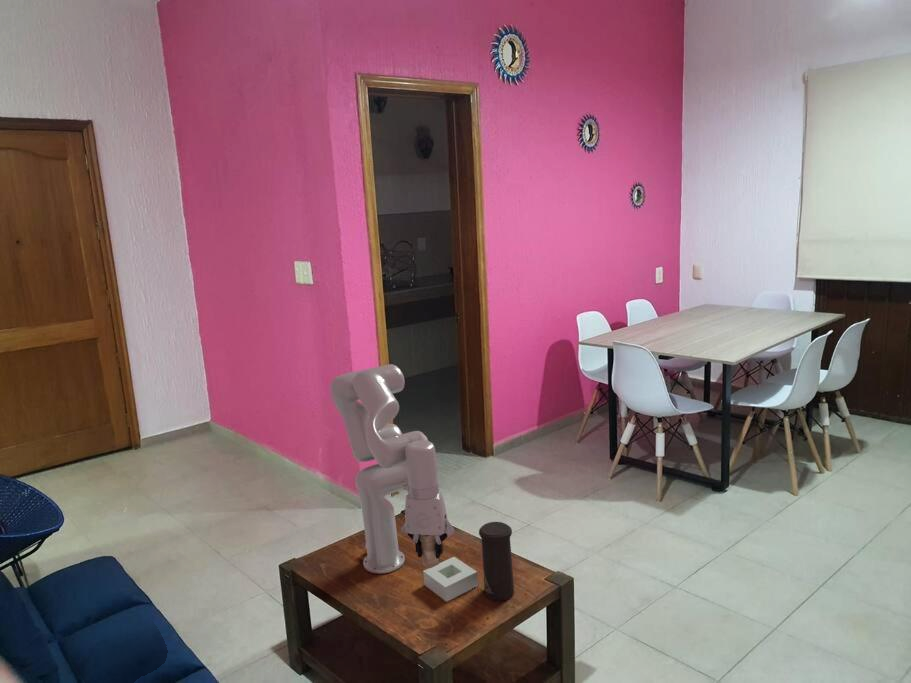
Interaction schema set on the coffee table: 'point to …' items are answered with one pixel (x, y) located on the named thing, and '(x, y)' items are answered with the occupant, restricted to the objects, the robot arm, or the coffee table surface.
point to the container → (497, 560)
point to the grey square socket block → (450, 578)
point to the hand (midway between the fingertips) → (429, 554)
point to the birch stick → (428, 551)
